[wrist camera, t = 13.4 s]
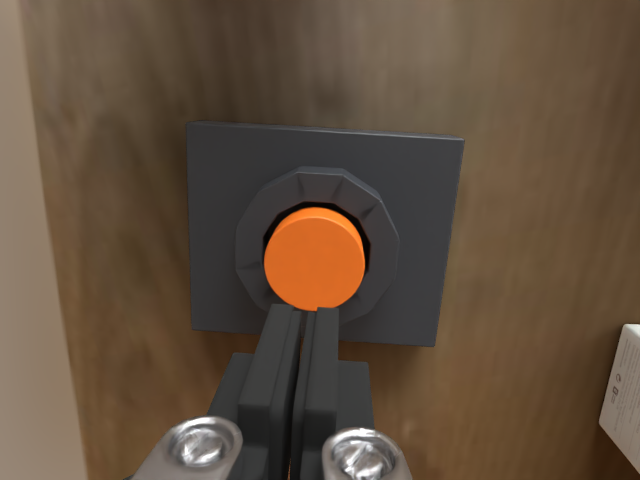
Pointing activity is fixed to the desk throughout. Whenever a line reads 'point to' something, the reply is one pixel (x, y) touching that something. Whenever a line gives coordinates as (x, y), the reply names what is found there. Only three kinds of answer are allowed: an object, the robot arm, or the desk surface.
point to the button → (315, 259)
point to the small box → (624, 396)
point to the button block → (329, 192)
